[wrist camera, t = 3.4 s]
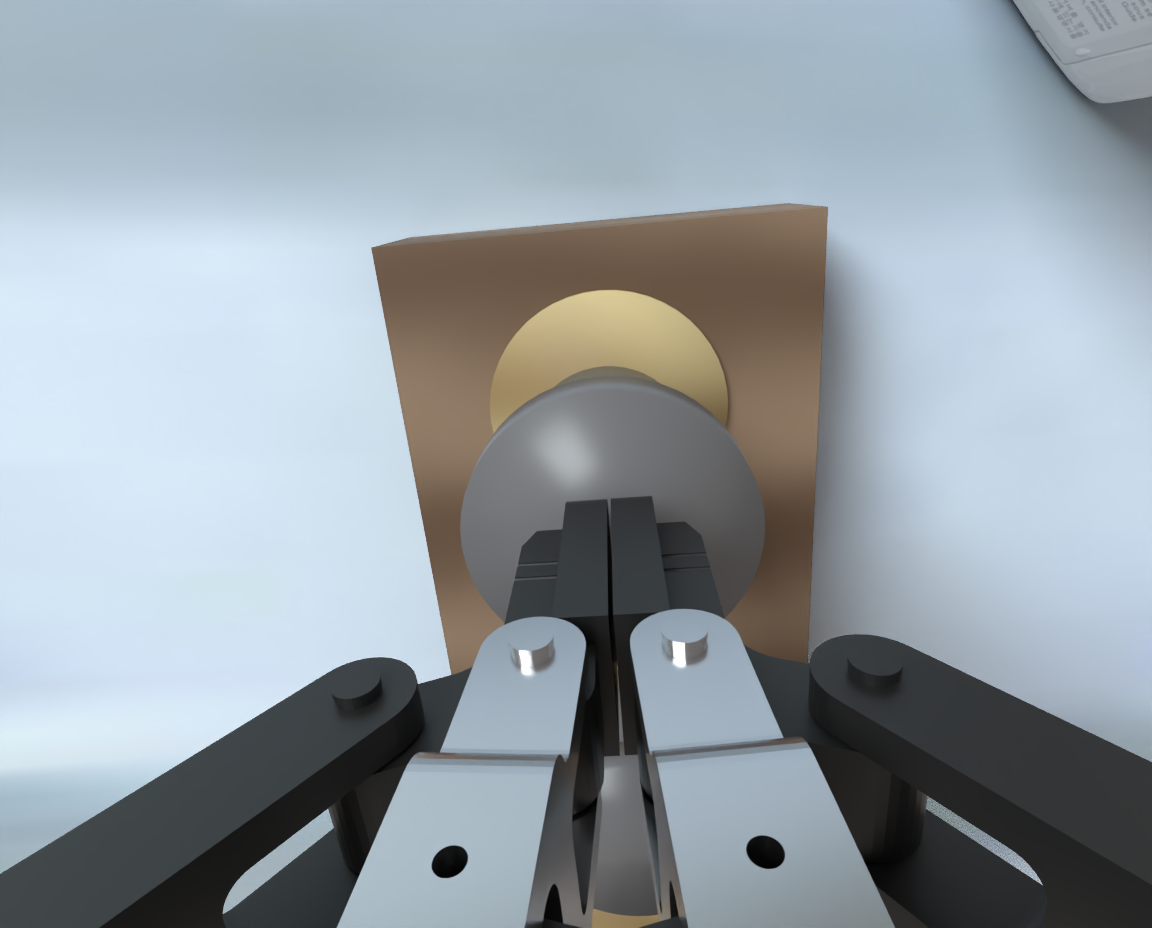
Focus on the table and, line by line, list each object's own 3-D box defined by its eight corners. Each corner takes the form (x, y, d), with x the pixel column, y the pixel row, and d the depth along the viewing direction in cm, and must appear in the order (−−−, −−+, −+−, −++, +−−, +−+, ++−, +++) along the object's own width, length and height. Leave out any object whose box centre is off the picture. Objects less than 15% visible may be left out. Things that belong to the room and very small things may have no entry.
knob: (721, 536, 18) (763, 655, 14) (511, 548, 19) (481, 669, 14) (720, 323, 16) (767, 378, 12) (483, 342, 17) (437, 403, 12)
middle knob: (713, 776, 25) (739, 913, 20) (557, 782, 25) (547, 918, 20) (711, 646, 23) (739, 765, 18) (540, 654, 23) (525, 773, 18)
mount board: (770, 911, 33) (793, 1007, 29) (523, 917, 34) (513, 1012, 30) (788, 203, 21) (830, 207, 18) (409, 237, 22) (368, 248, 18)
